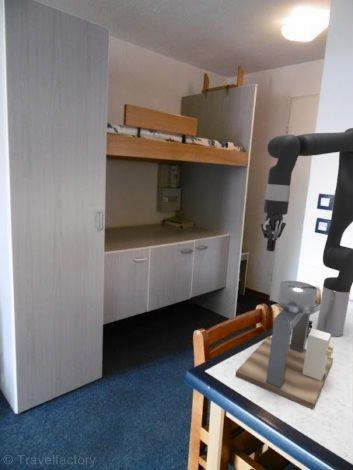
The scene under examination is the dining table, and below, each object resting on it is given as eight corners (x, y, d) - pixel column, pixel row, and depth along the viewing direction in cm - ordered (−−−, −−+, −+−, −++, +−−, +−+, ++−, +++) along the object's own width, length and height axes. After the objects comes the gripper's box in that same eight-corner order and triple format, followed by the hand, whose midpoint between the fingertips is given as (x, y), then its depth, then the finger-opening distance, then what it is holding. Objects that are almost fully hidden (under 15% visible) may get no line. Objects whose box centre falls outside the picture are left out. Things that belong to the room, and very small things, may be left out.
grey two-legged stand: (283, 342, 111) (293, 273, 107) (314, 352, 106) (325, 280, 101) (255, 378, 90) (265, 293, 85) (292, 393, 84) (305, 304, 80)
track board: (267, 340, 115) (268, 336, 114) (332, 362, 103) (333, 358, 103) (235, 376, 93) (236, 371, 92) (313, 409, 81) (314, 404, 81)
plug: (306, 366, 97) (312, 328, 95) (329, 374, 94) (335, 335, 91) (302, 373, 93) (308, 334, 91) (325, 382, 90) (332, 342, 87)
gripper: (277, 200, 99) (270, 255, 102) (296, 200, 109) (290, 250, 112) (256, 197, 104) (250, 250, 107) (276, 197, 114) (270, 246, 117)
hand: (270, 250), depth 110 cm, fingers closed
